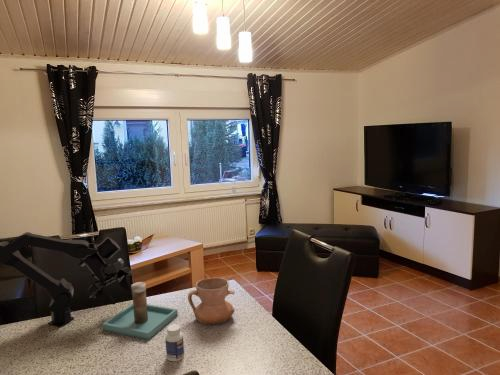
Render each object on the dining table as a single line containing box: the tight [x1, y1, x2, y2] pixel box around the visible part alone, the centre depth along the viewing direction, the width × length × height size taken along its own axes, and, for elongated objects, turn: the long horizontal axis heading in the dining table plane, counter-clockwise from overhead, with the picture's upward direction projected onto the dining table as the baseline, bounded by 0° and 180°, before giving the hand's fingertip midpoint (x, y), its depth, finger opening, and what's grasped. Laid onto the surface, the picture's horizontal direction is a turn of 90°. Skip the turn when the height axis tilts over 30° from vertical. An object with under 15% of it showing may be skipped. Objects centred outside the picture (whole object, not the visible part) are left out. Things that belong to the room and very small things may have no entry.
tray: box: [101, 303, 179, 341], centre depth 133 cm, size 20×18×2 cm
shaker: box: [130, 281, 148, 324], centre depth 132 cm, size 5×5×14 cm
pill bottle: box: [164, 324, 185, 362], centre depth 111 cm, size 5×5×10 cm
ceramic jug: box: [187, 277, 236, 326], centre depth 134 cm, size 18×14×14 cm
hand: (123, 298), depth 134 cm, fingers open, 9 cm apart
